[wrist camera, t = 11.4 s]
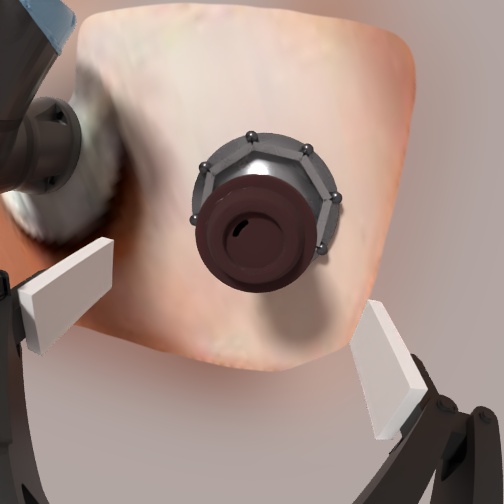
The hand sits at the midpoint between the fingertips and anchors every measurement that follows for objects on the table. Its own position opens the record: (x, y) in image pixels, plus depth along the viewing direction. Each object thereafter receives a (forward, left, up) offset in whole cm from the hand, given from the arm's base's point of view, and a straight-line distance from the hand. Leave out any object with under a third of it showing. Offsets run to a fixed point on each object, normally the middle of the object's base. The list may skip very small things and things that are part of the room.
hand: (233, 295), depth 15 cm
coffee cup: (0, 0, -24) cm, 24 cm away
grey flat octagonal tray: (0, 0, -25) cm, 25 cm away
